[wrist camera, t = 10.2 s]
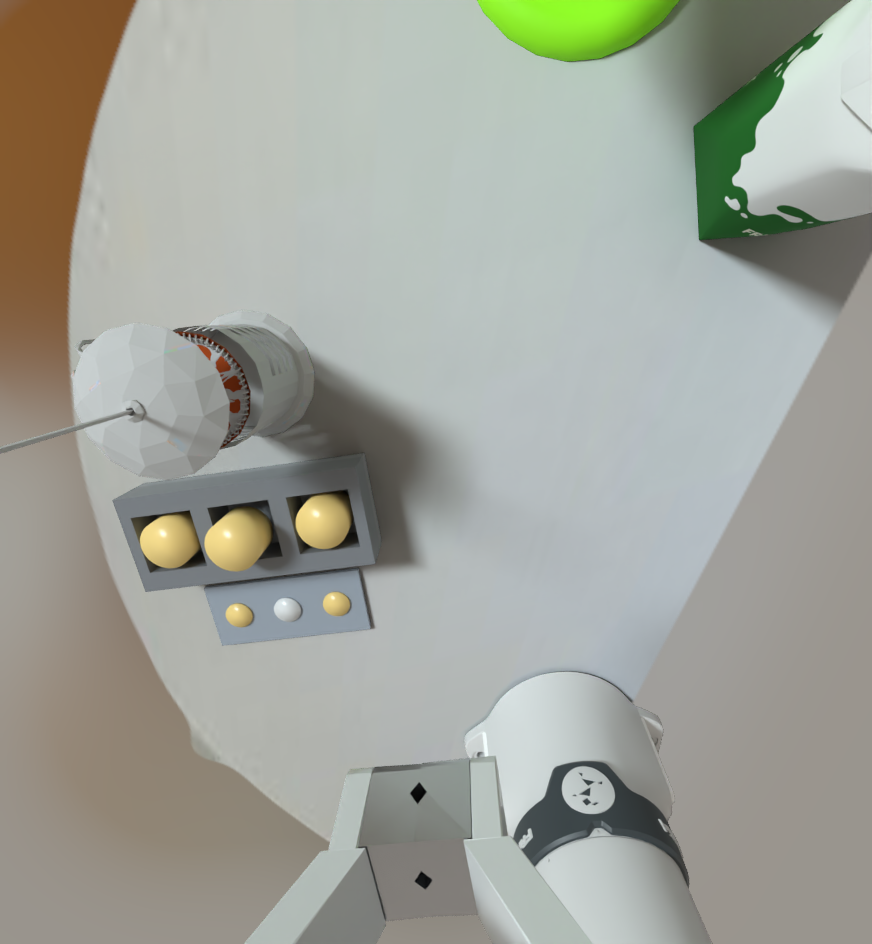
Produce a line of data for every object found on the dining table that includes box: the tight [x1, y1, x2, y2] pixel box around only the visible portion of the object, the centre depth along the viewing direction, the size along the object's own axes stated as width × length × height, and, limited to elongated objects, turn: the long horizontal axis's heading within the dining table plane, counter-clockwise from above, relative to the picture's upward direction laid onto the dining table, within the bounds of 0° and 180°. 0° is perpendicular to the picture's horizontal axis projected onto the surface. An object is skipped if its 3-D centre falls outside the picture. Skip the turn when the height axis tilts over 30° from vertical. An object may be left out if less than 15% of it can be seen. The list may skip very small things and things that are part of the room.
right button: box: [296, 490, 354, 549], centre depth 39 cm, size 4×4×3 cm
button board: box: [112, 453, 382, 646], centre depth 41 cm, size 16×19×4 cm
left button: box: [140, 510, 201, 568], centre depth 40 cm, size 4×4×3 cm
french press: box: [0, 310, 315, 480], centre depth 27 cm, size 10×12×25 cm
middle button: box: [204, 506, 273, 572], centre depth 37 cm, size 4×4×3 cm
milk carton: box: [694, 0, 872, 240], centre depth 24 cm, size 9×9×20 cm
